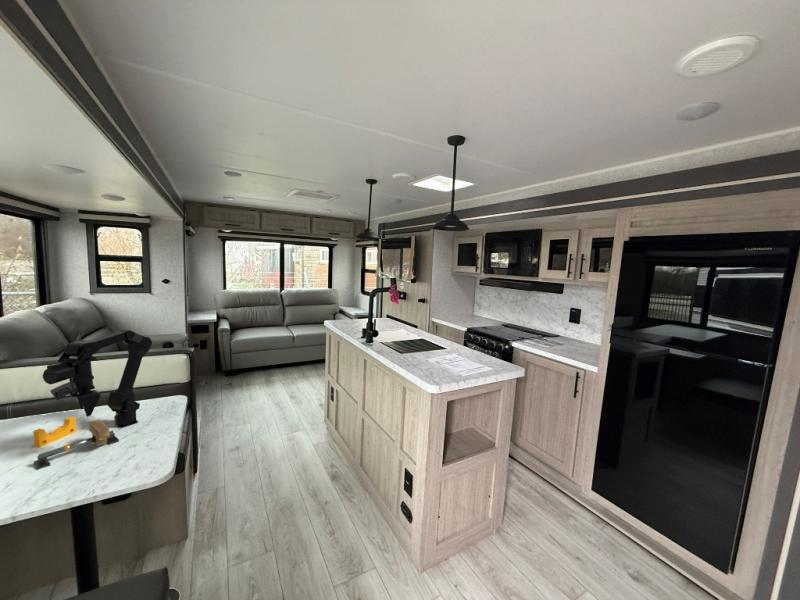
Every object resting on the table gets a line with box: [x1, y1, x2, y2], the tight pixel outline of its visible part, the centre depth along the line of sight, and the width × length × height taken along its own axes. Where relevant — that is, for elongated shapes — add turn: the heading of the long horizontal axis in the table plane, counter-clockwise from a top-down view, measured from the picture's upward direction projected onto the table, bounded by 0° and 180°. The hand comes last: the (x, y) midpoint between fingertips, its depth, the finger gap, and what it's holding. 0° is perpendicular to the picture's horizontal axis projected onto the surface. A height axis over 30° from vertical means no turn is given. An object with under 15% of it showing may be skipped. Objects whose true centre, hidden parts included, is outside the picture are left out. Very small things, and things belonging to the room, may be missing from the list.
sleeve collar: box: [88, 419, 110, 447], centre depth 126 cm, size 3×12×7 cm, turn 57°
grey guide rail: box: [33, 430, 120, 470], centre depth 121 cm, size 22×6×4 cm, turn 147°
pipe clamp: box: [32, 416, 77, 448], centre depth 129 cm, size 12×4×6 cm, turn 169°
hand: (85, 412), depth 125 cm, fingers open, 9 cm apart
